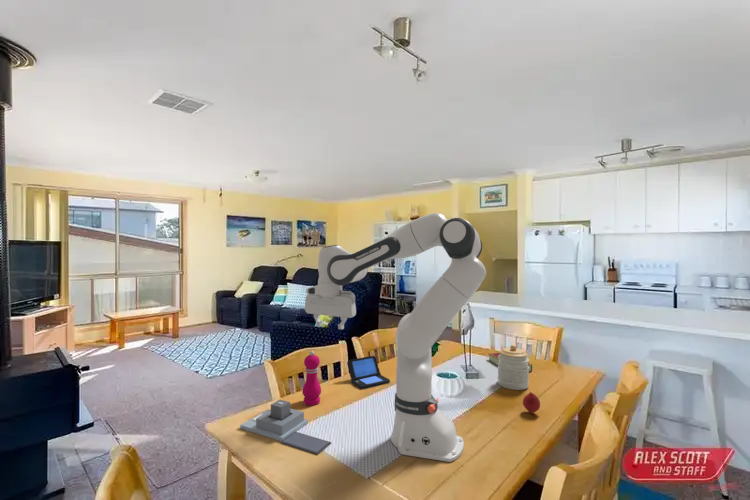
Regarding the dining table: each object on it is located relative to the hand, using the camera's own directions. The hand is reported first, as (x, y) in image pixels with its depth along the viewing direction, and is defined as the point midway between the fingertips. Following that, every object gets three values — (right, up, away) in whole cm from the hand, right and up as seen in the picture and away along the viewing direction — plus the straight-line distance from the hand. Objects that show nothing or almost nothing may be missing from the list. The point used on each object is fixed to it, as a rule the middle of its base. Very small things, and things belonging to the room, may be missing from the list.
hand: (330, 327), depth 135 cm
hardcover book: (+85, -31, +54) cm, 106 cm away
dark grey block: (-15, -30, -11) cm, 35 cm away
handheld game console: (+14, -31, +31) cm, 46 cm away
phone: (-5, -32, -21) cm, 38 cm away
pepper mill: (-8, -31, +9) cm, 33 cm away
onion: (+74, -32, +1) cm, 80 cm away
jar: (+77, -31, +28) cm, 88 cm away
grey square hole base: (-17, -31, -10) cm, 37 cm away
